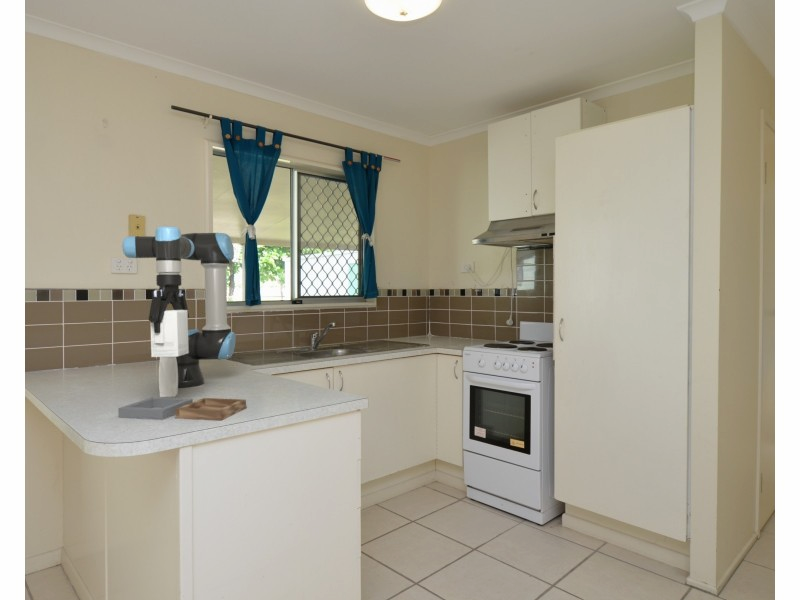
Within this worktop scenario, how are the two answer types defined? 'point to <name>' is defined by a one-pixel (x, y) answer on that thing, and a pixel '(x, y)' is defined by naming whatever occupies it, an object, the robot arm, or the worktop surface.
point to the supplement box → (172, 335)
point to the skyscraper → (168, 377)
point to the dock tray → (210, 409)
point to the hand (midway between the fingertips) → (170, 341)
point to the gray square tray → (148, 412)
